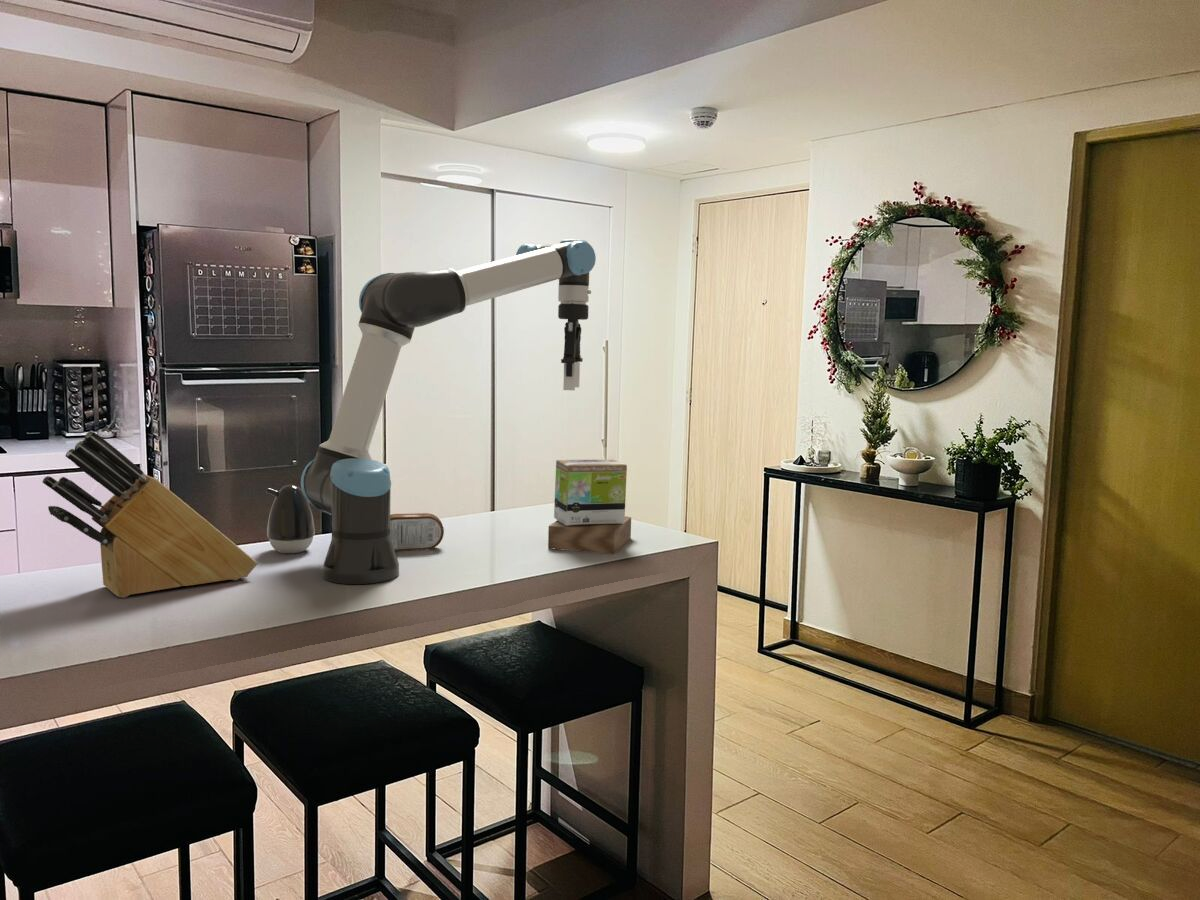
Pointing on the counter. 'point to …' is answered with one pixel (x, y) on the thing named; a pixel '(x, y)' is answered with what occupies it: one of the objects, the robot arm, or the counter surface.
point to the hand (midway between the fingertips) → (571, 388)
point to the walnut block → (589, 536)
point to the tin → (415, 531)
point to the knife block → (144, 527)
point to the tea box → (590, 492)
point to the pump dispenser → (290, 520)
